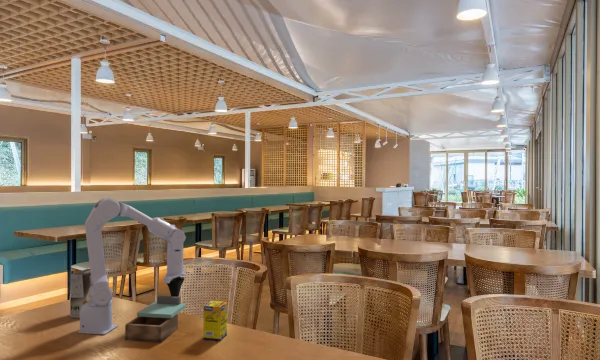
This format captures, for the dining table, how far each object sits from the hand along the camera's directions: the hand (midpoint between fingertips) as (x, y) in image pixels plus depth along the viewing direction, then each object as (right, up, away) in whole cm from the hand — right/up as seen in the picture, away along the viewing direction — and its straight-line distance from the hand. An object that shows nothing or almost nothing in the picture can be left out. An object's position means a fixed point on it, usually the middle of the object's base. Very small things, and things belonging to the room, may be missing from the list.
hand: (174, 298), depth 154 cm
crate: (-2, -7, -17) cm, 18 cm away
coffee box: (-34, -7, +3) cm, 35 cm away
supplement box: (+19, -8, -19) cm, 27 cm away
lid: (-1, -2, -10) cm, 10 cm away
